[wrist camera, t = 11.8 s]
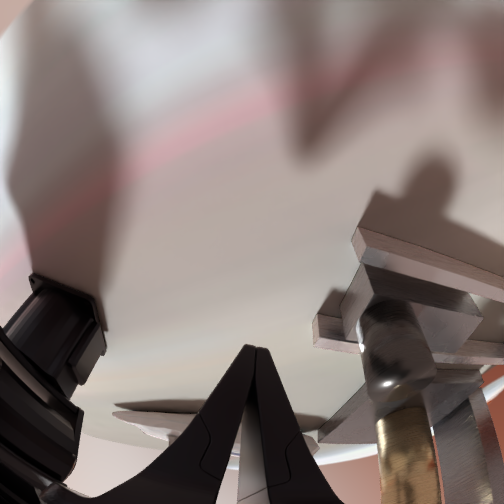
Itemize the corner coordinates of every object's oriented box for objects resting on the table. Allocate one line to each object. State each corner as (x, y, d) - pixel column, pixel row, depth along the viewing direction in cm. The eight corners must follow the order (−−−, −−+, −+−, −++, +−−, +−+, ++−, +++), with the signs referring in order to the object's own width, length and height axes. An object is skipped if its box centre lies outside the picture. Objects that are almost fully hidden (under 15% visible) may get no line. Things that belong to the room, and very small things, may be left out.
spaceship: (325, 416, 22) (325, 460, 18) (317, 439, 25) (316, 475, 22) (99, 389, 25) (85, 421, 21) (123, 416, 28) (112, 445, 25)
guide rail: (312, 323, 16) (314, 364, 13) (357, 226, 12) (373, 262, 10) (502, 350, 16) (514, 374, 14) (543, 294, 13) (560, 318, 10)
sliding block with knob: (339, 305, 15) (354, 400, 10) (362, 261, 13) (393, 357, 8) (442, 325, 15) (472, 399, 10) (466, 290, 14) (508, 364, 8)
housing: (369, 420, 19) (374, 561, 8) (423, 400, 18) (442, 545, 6) (381, 434, 21) (387, 552, 10) (428, 417, 20) (443, 538, 8)
